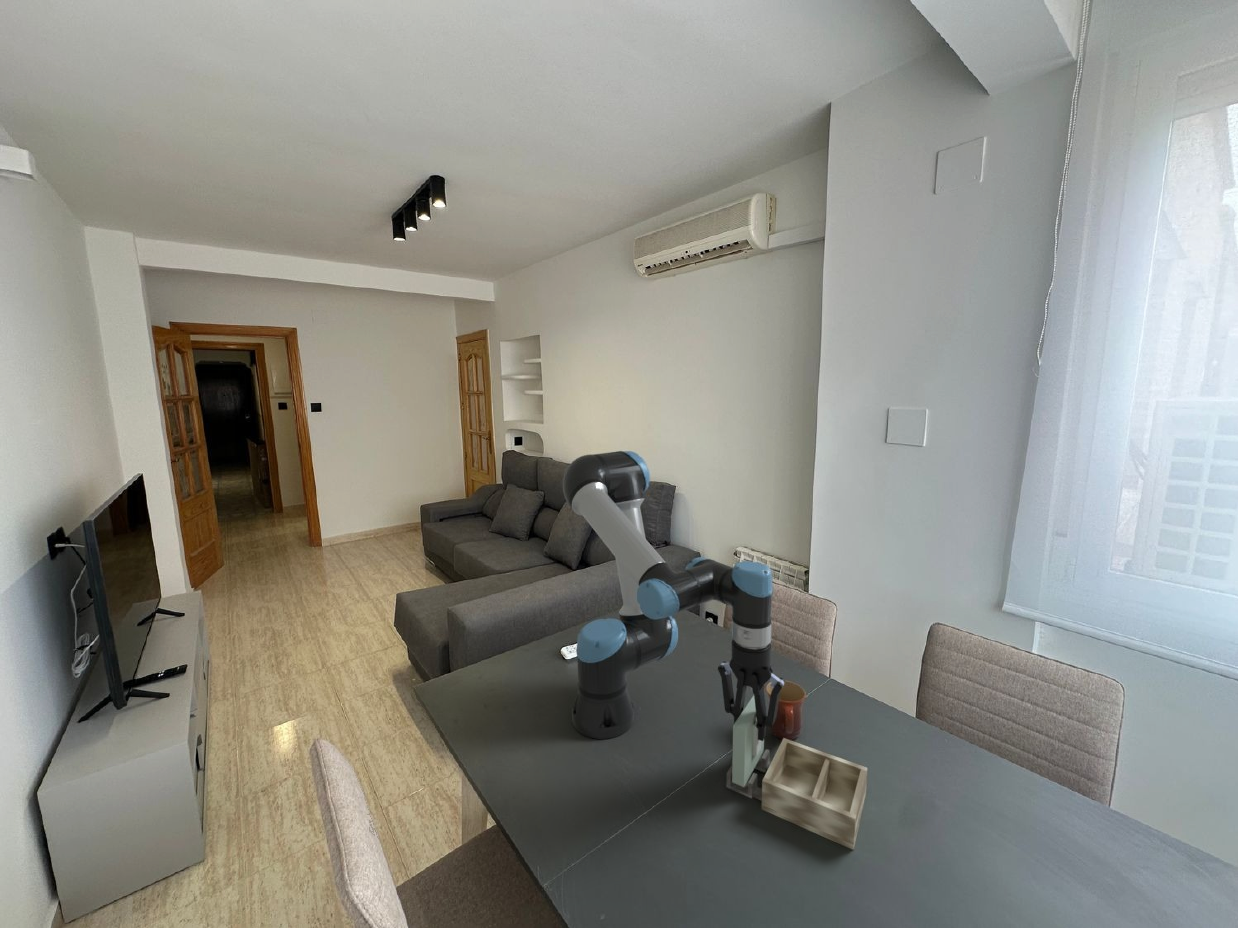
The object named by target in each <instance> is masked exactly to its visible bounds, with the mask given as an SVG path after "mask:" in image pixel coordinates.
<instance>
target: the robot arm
mask: <svg viewBox="0 0 1238 928" xmlns="http://www.w3.org/2000/svg"><path fill="white" fill-rule="evenodd" d="M650 481H651V474H650V469H649V467H648V465H647V463H646V461H645V460H644V458H643V457H642V456H640V455H639V454H638V453H636V452H634V451H630V450H629V451H627V450H625V451H623V450H619V451H609V452H604V453H602V452H601V453H595V454H593V453H592V454H584V455H581V456H579V457H576V458H575V459H574V460H573V461H572V462H571V463H570V464H569V465H568V466H567V468H566V469H565V472H564V474H563V479H562V492H563V495H564V499H565V500H566V502H567V505H568V506H569V507H570V508H571V510H572V511H573V512H574V514H576V515H578V516H583V519H585V520H586V521H587V523H588V524H589V525H590V527H591V528H592V529H593V531H595V534H596V535H597V536H598V537H599V538H600V540H601V541H602V542H603V543H604V545H605V546H606V547H607V549H609V551H610V552H611V554H612V555H613V556H614V558H615V563H616V569H617V575H618V581H619V587H620V593H621V598H622V603H623V605H622V606H621V608H620V610H618V615H619V619H617V618H614V617H613V618H611V617H610V618H609V617H607V618H606V619H604V618H599V619H595V620H593V621H590V622H588V623H587V624H585V625H584V626H583V627H582V628H581V629H580V630H579V632H578V635H577V640H576V642H577V643H576V649H575V652H576V656H577V658H576V659H577V661H576V662H577V682H578V683H577V684H578V691H577V693H576V696H575V699H574V704H573V706H572V709H571V721H572V725H573V727H574V729H575V730H576V731H577V732H578V733H579V734H581V735H583V736H585V737H588V738H592V739H598V740H600V739H601V740H602V739H603V740H605V739H611V738H616V737H619V736H620V735H623V734H625V733H626V732H628V731H629V730H630V729H631V727H632V726H633V724H634V722H635V707H634V704H633V702H632V699H631V697H630V694H629V693H630V692H629V690H628V688H627V675H628V673H631V672H632V671H634V670H637V669H640V668H642V667H644V666H647V665H649V664H651V663H654V662H657V661H658V662H659V661H661V660H662V659H664V658H665V657H666V656H669V655H670V654H671V653H673V651H674V650H675V648H676V646H677V644H678V640H679V629H678V625H677V621H676V619H675V618H673V616H675V615H676V614H678V613H680V612H683V611H685V610H688V609H691V608H694V607H697V606H700V605H703V604H706V603H709V602H711V601H716V602H719V603H722V604H724V605H727V606H729V607H731V622H732V623H731V638H732V640H731V660H730V661H729V662H727V661H724V660H723V661H722V662H721V663H720V664H719V666H718V667H717V671H718V673H719V675H720V678H721V685H722V686H721V687H722V695H723V696H722V697H723V704H724V705H723V706H724V711H725V712H726V713H727V714H731V715H732V716H733V725H734V724H735V722H736V721H737V719H738V718H739V716H740V715H741V713H742V712H743V710H744V709H745V701H746V699H745V698H746V693H747V688H748V687H750V688H751V689H752V694H753V696H754V699H755V708H756V717H757V721H756V722H755V724H754V726H753V756H756V757H757V755H758V753H759V752H760V750H761V741H763V740H764V741H765V738H766V736H767V727H768V728H769V727H772V726H773V724H774V722H775V720H776V716H777V710H778V704H779V697H780V691H781V689H782V687H783V685H784V684H785V680H786V679H785V678H784V677H778V676H776V675H775V674H774V670H773V668H772V666H771V661H772V658H771V656H772V653H771V652H772V645H771V641H772V606H773V605H772V603H773V601H772V600H773V591H774V587H773V573H772V569H771V568H770V567H769V566H768V565H766V564H764V563H762V562H760V561H758V562H757V561H756V562H755V561H752V560H748V561H747V560H745V561H740V562H737V563H735V564H734V565H733V566H730V565H727V564H725V563H721V562H719V561H716V560H714V559H711V558H705V557H696V558H693V559H692V560H691V561H690V562H689V563H688V564H687V565H686V567H685V569H682V570H678V571H675V570H674V569H673V568H672V567H671V566H670V565H669V564H668V563H667V562H666V561H665V560H664V558H663V557H662V556H661V555H660V554H659V552H658V551H657V550H656V549H655V548H654V547H653V546H652V544H650V542H649V541H648V540H647V539H646V533H645V527H644V522H643V516H642V512H641V510H642V509H641V506H642V504H643V502H644V501H645V494H644V493H645V492H646V491H647V490H648V488H649V486H650ZM732 673H733V674H734V676H735V679H736V680H737V682H736V691H735V693H736V694H735V696H734V688H733V687H734V685H733V678H732V677H733V676H732ZM769 681H770V682H771V688H772V689H773V690H772V692H771V696H770V703H769V702H768V709H766V708H767V705H766V695H765V684H766V683H767V682H769Z"/></svg>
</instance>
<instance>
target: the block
mask: <svg viewBox="0 0 1238 928" xmlns="http://www.w3.org/2000/svg"><path fill="white" fill-rule="evenodd" d="M743 709H744V710H743V712H742V713H741V715H740V716H739V718H738V719H737V721H736V722H735V724H734V723H733V726H732V762H731V763H732V764H731V765H732V782H733V783H735V784H738V785H740V786H742V787H744V786H745V785H746V783H747V782H749V780H750V778H751V776H752V774H753V773H754V772H753V771H754V770H755V766H756V764H757V762H758V761H759V759H760V758H761V757H762V756H763V754H764V752H765V739H764V740H763V741H761V750H760V752H759V753H758V755H757V757H756V756H753V726H754V724H755V722H756V721H757V717H756V708H755V699H754V695H753V696H752V697H751V699H749V701H748V703H747V704H746V706H744V708H743Z"/></svg>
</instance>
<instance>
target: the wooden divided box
mask: <svg viewBox="0 0 1238 928" xmlns="http://www.w3.org/2000/svg"><path fill="white" fill-rule="evenodd" d="M770 751H771V750H770V749H764V751H763V753H762V755H761V757H760V759H759V761H758V762H757V764H756V766H755V768H754V770H758V771H760V772H763V773H765V775H764V777H763V778H762V782H761V785H762V786H761V787H758V773H755V772H752V774H751V775H750V777H749V779H748V781H747V783H746V785H745V786H744V787H742V786H740V785H738V784H735V783H733V782H732V764H731V766H730V767H729V769H728V770H727V773H726V789H727V788H728V789H729V790H732V791H734V792H736V793H738V794H739V795H740V794H741V795H743V796H745V797H747V798H750V799H753V798H755V799H757V800H759V801H761V810H762V811H765V812H767V813H768V814H769V813H770V814H772V815H774V816H776V817H778V818H780V819H782V820H785V821H787V822H790V823H792V824H794V825H796V826H798V827H801V828H803V829H805V830H807V831H809V832H811V833H814V834H817V835H818V836H821V837H823V838H826V839H827V840H830V841H832V842H835V843H837V844H839V845H841V846H843V847H846V848H848V849H850V850H853V851H854V849H855V846H856V845H855V844H856V841H857V838H858V837H857V836H858V832H859V828H860V823H861V819H862V814H863V811H864V806H865V801H866V796H867V782H868V781H867V780H868V767H866V766H863V765H860V764H858V763H855V762H852V761H849V760H846V759H844V758H841V757H839V756H835V755H832V754H830V753H826V752H825V751H821V750H818V749H816V748H814V747H810V746H807V745H804V744H802V743H799V742H796V741H793V740H788V739H785V738H783V739H781V742H780V744H779V746H778V749H777V750H776V753H775V754H774V756H773V758H772V760H771V761H770V757H771V756H770V753H771V752H770Z"/></svg>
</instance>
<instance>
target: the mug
mask: <svg viewBox="0 0 1238 928" xmlns="http://www.w3.org/2000/svg"><path fill="white" fill-rule="evenodd" d="M772 690H773V689H772V688H771V681H770V682H768V683H767V684H766V686H765V691H766V695H767V698H768V704H769V703H770V696H771V692H772ZM806 697H807V692H806V690H805V689H804V687H802V686H801V685H800V684H798V683H795V682H793V681H790V680H786V679H785V684H784V685H783V687H782V689H781V691H780V697H779V704H778V710H777V716H776V720H775V722H774V724H773V726H772V727H768V729H769V731H770V732H771V734H773V735H774V736H775V737H777V739H780V740H783V738H785V739H788V740H791V741H793V740H795V739H798V737H800V735H801V732H802V727H803V704H804V702H805V699H806Z"/></svg>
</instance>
